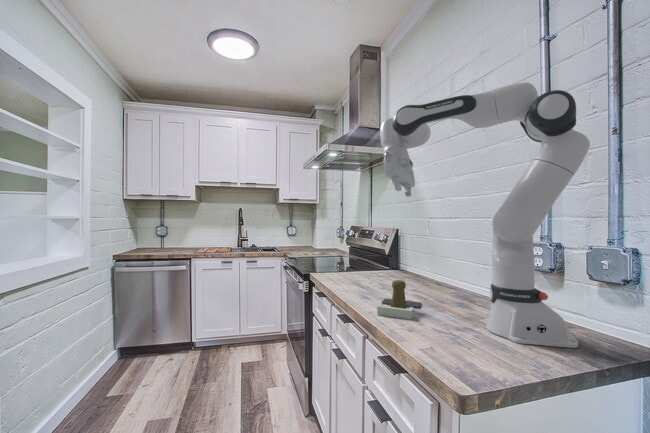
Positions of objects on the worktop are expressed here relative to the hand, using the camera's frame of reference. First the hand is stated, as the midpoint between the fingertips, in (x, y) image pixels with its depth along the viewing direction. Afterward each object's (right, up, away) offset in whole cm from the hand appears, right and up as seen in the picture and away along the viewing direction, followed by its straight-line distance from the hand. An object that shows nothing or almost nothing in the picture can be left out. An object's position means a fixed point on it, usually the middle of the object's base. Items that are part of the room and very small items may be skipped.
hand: (403, 193), depth 106 cm
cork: (0, -44, +7) cm, 45 cm away
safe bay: (-3, -44, -1) cm, 44 cm away
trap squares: (+3, -44, +14) cm, 46 cm away
